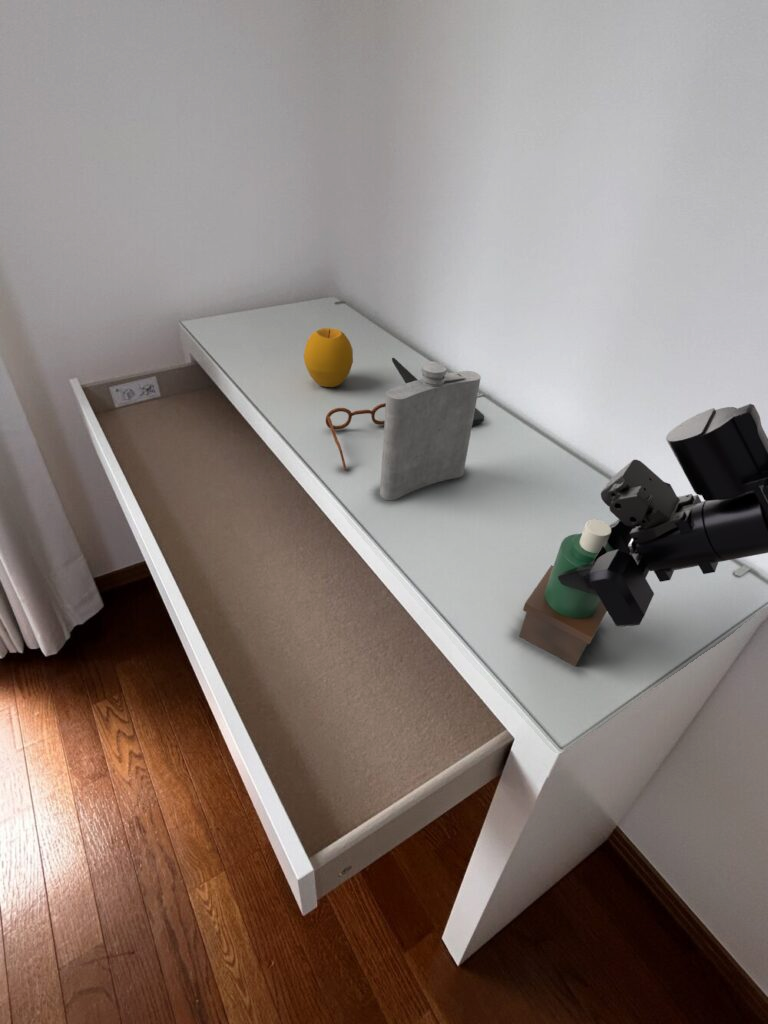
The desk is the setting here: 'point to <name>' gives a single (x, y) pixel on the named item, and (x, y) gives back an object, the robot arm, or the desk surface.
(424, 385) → the hip flask
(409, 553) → the desk surface
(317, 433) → the desk surface
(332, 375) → the apple
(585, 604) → the bottle
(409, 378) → the game console
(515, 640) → the desk surface
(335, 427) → the glasses
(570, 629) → the brown lidded box
